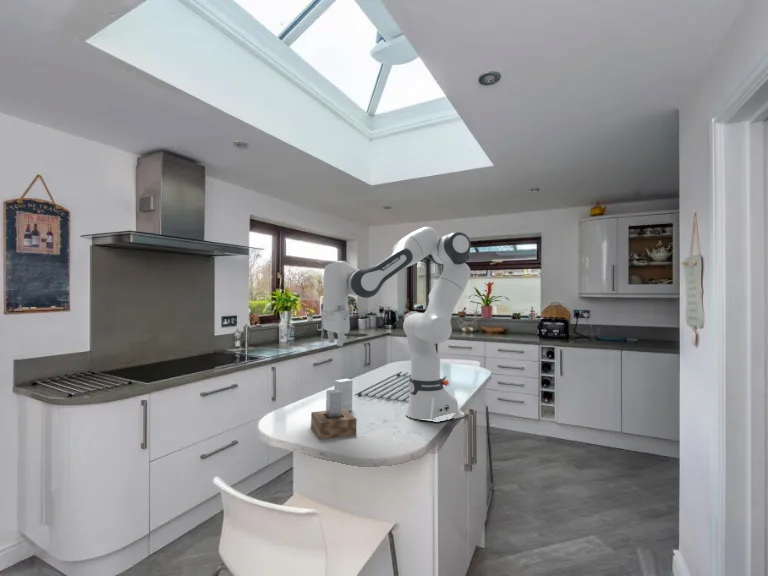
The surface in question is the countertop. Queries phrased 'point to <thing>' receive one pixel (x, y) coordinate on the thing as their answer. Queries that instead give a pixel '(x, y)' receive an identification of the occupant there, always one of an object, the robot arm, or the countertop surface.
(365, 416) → the countertop surface
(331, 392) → the metal peg
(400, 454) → the countertop surface
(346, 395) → the skincare box
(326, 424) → the walnut socket block
